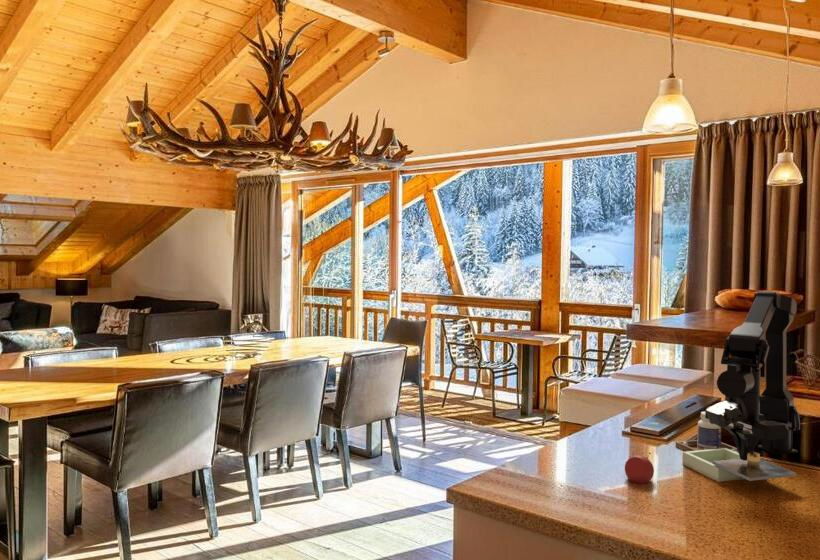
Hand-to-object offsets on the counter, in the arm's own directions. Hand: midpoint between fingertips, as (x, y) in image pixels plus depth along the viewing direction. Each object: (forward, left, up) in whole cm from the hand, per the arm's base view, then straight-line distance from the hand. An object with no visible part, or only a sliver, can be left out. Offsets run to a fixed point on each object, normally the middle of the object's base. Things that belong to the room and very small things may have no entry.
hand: (743, 460), depth 143 cm
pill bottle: (-7, -20, -5) cm, 21 cm away
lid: (0, +3, -1) cm, 3 cm away
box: (0, -7, -4) cm, 8 cm away
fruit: (+21, -7, -5) cm, 23 cm away
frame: (-7, -20, -5) cm, 21 cm away
